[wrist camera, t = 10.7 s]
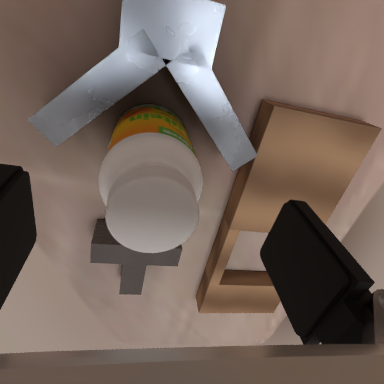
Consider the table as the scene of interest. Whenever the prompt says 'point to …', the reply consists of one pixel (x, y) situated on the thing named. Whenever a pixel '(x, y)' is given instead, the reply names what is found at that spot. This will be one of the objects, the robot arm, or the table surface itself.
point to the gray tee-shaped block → (128, 258)
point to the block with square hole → (281, 193)
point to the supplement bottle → (150, 181)
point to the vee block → (150, 64)
